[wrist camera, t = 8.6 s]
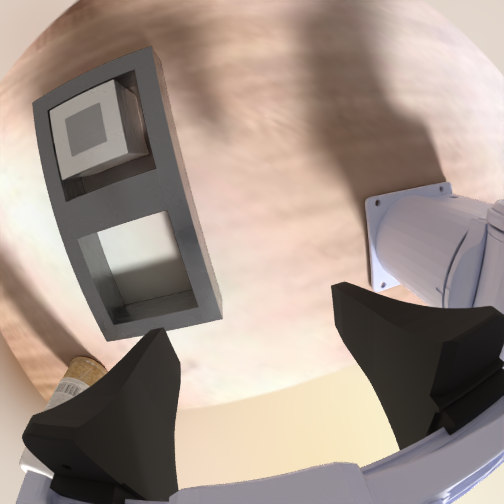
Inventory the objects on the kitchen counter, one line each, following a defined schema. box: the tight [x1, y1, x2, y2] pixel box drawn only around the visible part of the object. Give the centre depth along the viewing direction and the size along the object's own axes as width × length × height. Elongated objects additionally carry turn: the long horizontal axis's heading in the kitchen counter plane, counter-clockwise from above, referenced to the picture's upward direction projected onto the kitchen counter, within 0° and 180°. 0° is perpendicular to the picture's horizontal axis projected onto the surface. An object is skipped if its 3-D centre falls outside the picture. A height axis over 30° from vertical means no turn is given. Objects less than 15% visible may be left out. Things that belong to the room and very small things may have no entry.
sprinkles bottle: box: [19, 357, 107, 478], centre depth 16 cm, size 5×5×13 cm
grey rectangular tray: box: [32, 46, 223, 342], centre depth 17 cm, size 9×18×3 cm, turn 13°
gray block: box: [50, 80, 148, 180], centre depth 15 cm, size 4×4×4 cm
